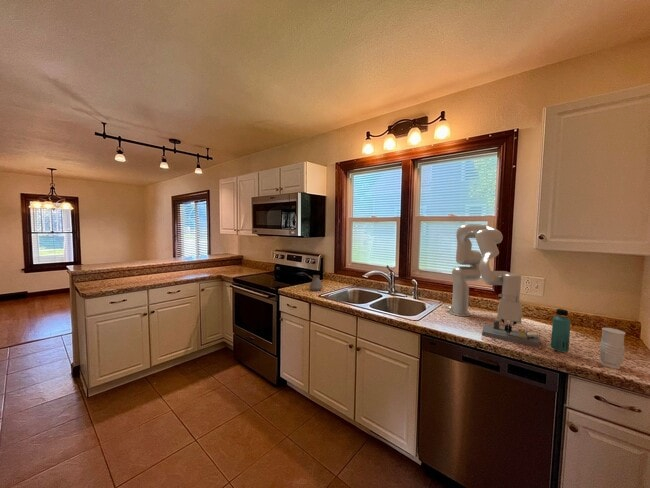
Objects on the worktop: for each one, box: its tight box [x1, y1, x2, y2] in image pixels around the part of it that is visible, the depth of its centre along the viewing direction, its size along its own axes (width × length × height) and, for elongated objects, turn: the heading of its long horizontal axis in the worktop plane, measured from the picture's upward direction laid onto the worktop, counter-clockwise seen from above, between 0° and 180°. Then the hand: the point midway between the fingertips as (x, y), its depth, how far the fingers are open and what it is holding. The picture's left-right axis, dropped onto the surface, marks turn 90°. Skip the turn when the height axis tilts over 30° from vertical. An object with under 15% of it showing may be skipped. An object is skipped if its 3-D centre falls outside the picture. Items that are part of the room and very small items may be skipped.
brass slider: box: [518, 328, 526, 339], centre depth 134 cm, size 3×3×4 cm
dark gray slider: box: [493, 319, 501, 329], centre depth 146 cm, size 3×3×4 cm
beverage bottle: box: [550, 308, 572, 353], centre depth 123 cm, size 6×7×20 cm
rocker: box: [527, 331, 539, 338], centre depth 134 cm, size 4×4×1 cm
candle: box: [598, 327, 627, 370], centre depth 111 cm, size 7×7×15 cm
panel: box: [481, 324, 541, 348], centre depth 139 cm, size 24×13×3 cm, turn 56°
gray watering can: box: [300, 271, 323, 292], centre depth 235 cm, size 21×12×15 cm, turn 62°
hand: (507, 332), depth 137 cm, fingers closed
